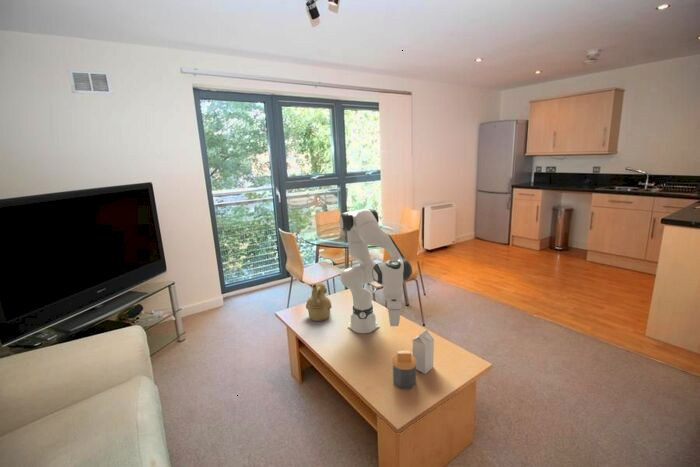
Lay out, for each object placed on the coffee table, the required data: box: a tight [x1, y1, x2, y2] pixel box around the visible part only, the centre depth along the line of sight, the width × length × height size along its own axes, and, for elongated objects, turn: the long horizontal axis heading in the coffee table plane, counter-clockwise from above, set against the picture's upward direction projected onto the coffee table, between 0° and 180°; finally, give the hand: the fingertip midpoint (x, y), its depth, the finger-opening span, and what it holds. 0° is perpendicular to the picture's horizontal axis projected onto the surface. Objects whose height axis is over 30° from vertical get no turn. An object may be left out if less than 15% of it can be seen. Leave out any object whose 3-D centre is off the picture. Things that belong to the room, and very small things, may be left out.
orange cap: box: [391, 349, 417, 370], centre depth 140 cm, size 11×11×7 cm
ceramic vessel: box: [305, 282, 332, 322], centre depth 203 cm, size 17×20×25 cm
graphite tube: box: [392, 365, 417, 390], centre depth 141 cm, size 10×10×10 cm
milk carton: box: [412, 328, 435, 375], centre depth 150 cm, size 7×7×19 cm
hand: (392, 324), depth 144 cm, fingers closed
